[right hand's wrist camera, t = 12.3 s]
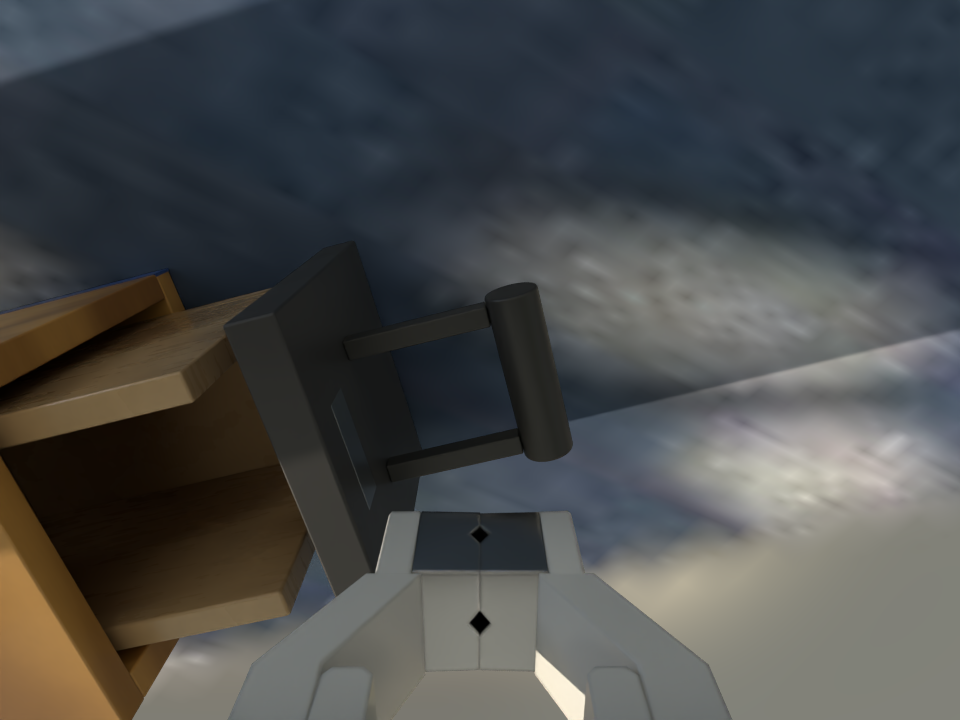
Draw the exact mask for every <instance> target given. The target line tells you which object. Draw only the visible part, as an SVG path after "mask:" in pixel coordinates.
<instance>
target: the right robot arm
mask: <svg viewBox="0 0 960 720" xmlns="http://www.w3.org/2000/svg"><path fill="white" fill-rule="evenodd" d="M463 670H496V671H531V672H535V675H536V676H537V678H538V679H539V680H540V682H541V683H542V685H543V686H544V687H545V689H546V690H547V691H548V693H549V694H550V695H551V697H552V698H553V699H554V701H555V702H556V703H557V705H558V706H559V707H560V709H561V710H562V712H563V713H564V714H565V716H566V717H567V718H568V720H732V718H731V716H730V714H729V711H728V709H727V706H726V704H725V702H724V700H723V697H722V695H721V692H720V690H719V688H718V685H717V683H716V681H715V678H714V676H713V674H712V671H711V669H710V667H709V665H708V664H707V663H706V662H705V661H703V660H702V659H701V658H700V657H698V656H697V655H696V654H695V653H693V652H692V651H691V650H690V649H688V648H687V647H686V646H684V645H683V644H682V643H681V642H679V641H678V640H677V639H676V638H674V637H673V636H672V635H671V634H669V633H668V632H667V631H666V630H664V629H663V628H662V627H661V626H659V625H658V624H657V623H656V622H654V621H653V620H652V619H650V618H649V617H648V616H647V615H645V614H644V613H643V612H642V611H640V610H639V609H638V608H637V607H635V606H634V605H633V604H632V603H630V602H629V601H628V600H627V599H625V598H624V597H623V596H622V595H620V594H619V593H618V592H617V591H615V590H614V589H613V588H611V587H610V586H609V585H608V584H606V583H605V582H604V581H603V580H601V579H600V578H599V577H598V576H596V575H595V574H593V573H585V571H584V567H583V563H582V559H581V554H580V550H579V546H578V542H577V538H576V534H575V530H574V526H573V521H572V517H571V514H570V513H569V512H568V511H547V512H526V513H478V512H430V511H422V513H421V512H420V511H392V512H391V513H390V515H389V517H388V521H387V525H386V529H385V533H384V538H383V542H382V546H381V550H380V554H379V558H378V563H377V567H376V571H375V573H367V574H365V575H364V576H362V577H361V578H360V579H359V580H357V581H356V582H355V583H354V584H352V585H351V586H350V587H348V588H347V589H346V590H345V591H343V592H342V593H341V594H340V595H338V596H337V597H336V598H335V599H333V600H332V601H331V602H329V603H328V604H327V605H326V606H324V607H323V608H322V609H321V610H319V611H318V612H317V613H316V614H314V615H313V616H312V617H311V618H309V619H308V620H307V621H305V622H304V623H303V624H302V625H300V626H299V627H298V628H297V629H295V630H294V631H293V632H292V633H290V634H289V635H288V636H286V637H285V638H284V639H283V640H281V641H280V642H279V643H278V644H276V645H275V646H274V647H273V648H271V649H270V650H269V651H267V652H266V653H265V654H264V655H262V656H261V657H260V658H259V659H257V660H256V661H255V662H254V663H252V665H251V667H250V670H249V672H248V674H247V677H246V679H245V681H244V684H243V686H242V688H241V691H240V693H239V695H238V698H237V700H236V702H235V704H234V707H233V709H232V711H231V714H230V716H229V718H228V720H392V719H393V717H394V716H395V715H396V713H397V712H398V711H399V709H400V708H401V707H402V705H403V704H404V703H405V701H406V700H407V699H408V697H409V696H410V695H411V693H412V692H413V691H414V689H415V688H416V687H417V685H418V684H419V682H420V681H421V680H422V678H423V677H424V676H425V672H428V671H463Z"/></svg>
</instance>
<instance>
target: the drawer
mask: <svg viewBox="0 0 960 720" xmlns="http://www.w3.org/2000/svg"><path fill="white" fill-rule="evenodd" d="M490 326H492V330H493V334H494V338H495V341H496V345H497V349H498V353H499V357H500V361H501V365H502V368H503V372H504V376H505V380H506V384H507V388H508V392H509V395H510V399H511V403H512V407H513V411H514V415H515V419H516V423H517V426H518V428H516V429H512V430H507V431H503V432H499V433H494V434H490V435H485V436H481V437H477V438H472V439H468V440H463V441H459V442H455V443H450V444H446V445H441V446H437V447H433V448H428V449H424V450H422V448H421V445H420V442H419V439H418V436H417V432H416V429H415V426H414V423H413V420H412V417H411V414H410V411H409V408H408V405H407V402H406V398H405V395H404V392H403V389H402V386H401V383H400V380H399V377H398V374H397V371H396V368H395V364H394V361H393V358H392V355H391V352H390V351H392V350H396V349H401V348H405V347H409V346H413V345H417V344H421V343H425V342H429V341H433V340H438V339H442V338H446V337H450V336H454V335H458V334H462V333H466V332H471V331H475V330H479V329H483V328H487V327H490ZM572 446H573V441H572V437H571V433H570V428H569V424H568V419H567V415H566V410H565V406H564V402H563V397H562V393H561V388H560V384H559V380H558V375H557V371H556V366H555V362H554V358H553V353H552V349H551V344H550V340H549V335H548V331H547V327H546V322H545V318H544V313H543V309H542V305H541V300H540V296H539V291H538V287H537V285H536V284H535V283H529V282H524V283H516V284H511V285H507V286H503V287H500V288H498V289H495V290H493V291H491V292H490V293H488V294H487V295H486V296H485V302H482V303H478V304H474V305H470V306H466V307H462V308H458V309H454V310H450V311H446V312H442V313H437V314H433V315H429V316H425V317H421V318H417V319H413V320H409V321H405V322H401V323H397V324H393V325H389V326H385V327H382V324H381V321H380V318H379V315H378V312H377V309H376V306H375V303H374V299H373V296H372V293H371V290H370V287H369V284H368V281H367V278H366V275H365V272H364V269H363V265H362V262H361V259H360V256H359V253H358V250H357V247H356V244H355V242H354V241H349V242H345V243H342V244H338V245H334V246H330V247H326V248H323V249H322V250H321V251H319V252H318V253H317V254H316V255H314V256H313V257H312V258H310V259H309V260H308V261H306V262H305V263H304V264H303V265H301V266H300V267H299V268H297V269H296V270H295V271H293V272H292V273H291V274H289V275H288V276H287V277H286V278H284V279H283V280H282V281H280V282H279V283H278V284H276V285H275V286H274V287H273V288H269V289H265V290H261V291H257V292H254V293H250V294H246V295H242V296H238V297H234V298H230V299H226V300H222V301H218V302H214V303H211V304H207V305H203V306H199V307H195V308H191V309H187V310H183V311H179V312H175V313H172V314H168V315H164V316H160V317H156V318H152V319H148V320H144V321H140V322H136V323H133V324H129V325H125V326H121V327H117V328H113V329H109V330H106V331H104V332H102V333H100V334H99V335H97V336H95V337H93V338H91V339H89V340H87V341H86V342H84V343H82V344H80V345H78V346H76V347H74V348H73V349H71V350H69V351H67V352H65V353H63V354H62V355H60V356H58V357H56V358H54V359H52V360H50V361H49V362H47V363H45V364H43V365H41V366H39V367H37V368H36V369H34V370H32V371H30V372H28V373H26V374H24V375H23V376H21V377H19V378H17V379H15V380H13V381H12V382H10V383H8V384H6V385H4V386H2V387H0V456H1V458H2V459H3V461H4V463H5V464H6V466H7V468H8V470H9V471H10V473H11V475H12V476H13V478H14V480H15V481H16V483H17V485H18V486H19V488H20V490H21V491H22V493H23V495H24V497H25V498H26V500H27V502H28V503H29V505H30V507H31V508H32V510H33V512H34V513H35V515H36V517H37V518H38V520H39V522H40V524H41V525H42V527H43V529H44V530H45V532H46V534H47V535H48V537H49V539H50V540H51V542H52V544H53V545H54V547H55V549H56V551H57V552H58V554H59V556H60V557H61V559H62V561H63V562H64V564H65V566H66V567H67V569H68V571H69V572H70V574H71V576H72V578H73V579H74V581H75V583H76V584H77V586H78V588H79V589H80V591H81V593H82V594H83V596H84V598H85V599H86V601H87V603H88V605H89V606H90V608H91V610H92V611H93V613H94V615H95V616H96V618H97V620H98V621H99V623H100V625H101V626H102V628H103V630H104V632H105V633H106V635H107V637H108V638H109V640H110V642H111V643H112V645H113V647H114V648H115V650H116V651H119V650H124V649H128V648H133V647H138V646H143V645H148V644H152V643H157V642H162V641H167V640H172V639H176V638H181V637H186V636H191V635H196V634H200V633H205V632H210V631H215V630H220V629H224V628H229V627H234V626H239V625H244V624H248V623H253V622H258V621H263V620H268V619H272V618H277V617H282V616H287V615H289V614H290V613H291V610H292V608H293V605H294V603H295V600H296V598H297V595H298V592H299V590H300V587H301V585H302V582H303V580H304V577H305V574H306V572H307V569H308V567H309V564H310V562H311V559H312V557H313V554H314V551H315V549H316V552H317V554H318V556H319V559H320V561H321V564H322V566H323V568H324V571H325V573H326V576H327V578H328V580H329V583H330V585H331V588H332V590H333V592H334V595H335V597H337V596H338V595H340V594H341V593H342V592H343V591H345V590H346V589H347V588H348V587H350V586H351V585H352V584H354V583H355V582H356V581H357V580H359V579H360V578H361V577H362V576H364V575H365V574H367V573H375V571H376V567H377V563H378V558H379V554H380V550H381V546H382V542H383V538H384V533H385V529H386V525H387V521H388V517H389V515H390V513H391V512H392V511H414V507H415V501H416V496H417V490H418V484H419V478H420V476H424V475H428V474H433V473H437V472H442V471H446V470H451V469H455V468H460V467H464V466H469V465H473V464H478V463H482V462H487V461H491V460H495V459H500V458H504V457H509V456H513V455H518V454H522V453H523V452H524V453H525V455H526V457H527V458H528V459H530V460H533V461H538V462H546V461H552V460H555V459H558V458H561V457H563V456H564V455H566V454H567V453H568V452H569V451H570V450H571V449H572ZM523 450H524V451H523Z"/></svg>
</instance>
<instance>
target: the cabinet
mask: <svg viewBox="0 0 960 720" xmlns="http://www.w3.org/2000/svg"><path fill="white" fill-rule="evenodd" d="M168 271H169V269H168V268H166V269H162V270H158V271H154V272H150V273H147V274H143V275H139V276H135V277H131V278H128V279H124V280H120V281H116V282H112V283H109V284H105V285H101V286H97V287H93V288H90V289H86V290H82V291H78V292H74V293H71V294H67V295H63V296H59V297H55V298H52V299H48V300H44V301H40V302H36V303H33V304H29V305H25V306H21V307H17V308H14V309H10V310H6V311H2V312H0V387H2V386H4V385H6V384H8V383H10V382H12V381H13V380H15V379H17V378H19V377H21V376H23V375H24V374H26V373H28V372H30V371H32V370H34V369H36V368H37V367H39V366H41V365H43V364H45V363H47V362H49V361H50V360H52V359H54V358H56V357H58V356H60V355H62V354H63V353H65V352H67V351H69V350H71V349H73V348H74V347H76V346H78V345H80V344H82V343H84V342H86V341H87V340H89V339H91V338H93V337H95V336H97V335H99V334H100V333H102V332H104V331H106V330H109V329H113V328H117V327H121V326H125V325H129V324H133V323H136V322H140V321H144V320H148V319H152V318H156V317H160V316H164V315H168V314H172V313H175V312H179V311H183V310H185V309H184V306H183V304H182V302H181V300H180V297H179V295H178V293H177V290H176V288H175V286H174V283H173V281H172V279H171V277H170V274H169V272H168ZM178 640H179V638H176V639H172V640H167V641H162V642H157V643H152V644H148V645H143V646H138V647H133V648H128V649H124V650H119V651H116V650H115V648H114V647H113V645H112V643H111V642H110V640H109V638H108V637H107V635H106V633H105V632H104V630H103V628H102V626H101V625H100V623H99V621H98V620H97V618H96V616H95V615H94V613H93V611H92V610H91V608H90V606H89V605H88V603H87V601H86V599H85V598H84V596H83V594H82V593H81V591H80V589H79V588H78V586H77V584H76V583H75V581H74V579H73V578H72V576H71V574H70V572H69V571H68V569H67V567H66V566H65V564H64V562H63V561H62V559H61V557H60V556H59V554H58V552H57V551H56V549H55V547H54V545H53V544H52V542H51V540H50V539H49V537H48V535H47V534H46V532H45V530H44V529H43V527H42V525H41V524H40V522H39V520H38V518H37V517H36V515H35V513H34V512H33V510H32V508H31V507H30V505H29V503H28V502H27V500H26V498H25V497H24V495H23V493H22V491H21V490H20V488H19V486H18V485H17V483H16V481H15V480H14V478H13V476H12V475H11V473H10V471H9V470H8V468H7V466H6V464H5V463H4V461H3V459H2V458H1V456H0V720H132V718H133V717H134V715H135V713H136V712H137V710H138V708H139V707H140V705H141V703H142V702H143V700H144V697H145V696H146V694H147V692H148V691H149V689H150V687H151V686H152V684H153V682H154V681H155V679H156V677H157V675H158V674H159V672H160V670H161V669H162V667H163V665H164V664H165V662H166V660H167V658H168V657H169V655H170V653H171V652H172V650H173V648H174V647H175V645H176V643H177V641H178Z"/></svg>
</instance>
